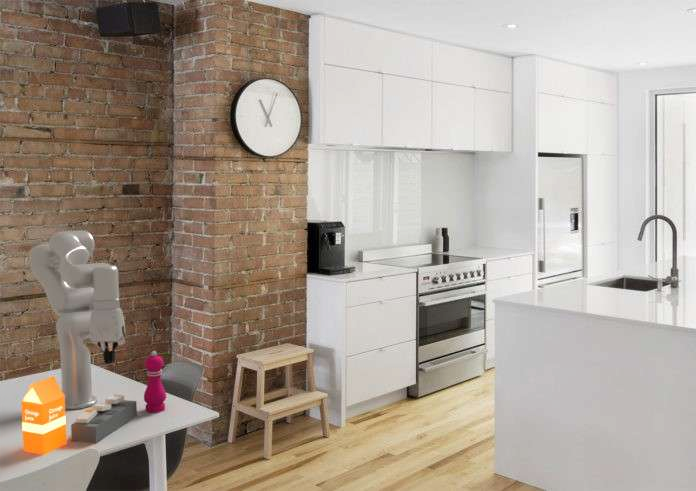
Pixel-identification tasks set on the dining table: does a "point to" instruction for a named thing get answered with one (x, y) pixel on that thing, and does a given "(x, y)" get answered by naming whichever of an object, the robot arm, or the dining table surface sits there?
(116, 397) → the plate
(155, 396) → the pepper mill
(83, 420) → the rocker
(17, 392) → the dining table surface
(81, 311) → the robot arm
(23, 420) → the orange juice
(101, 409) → the block
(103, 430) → the power strip
